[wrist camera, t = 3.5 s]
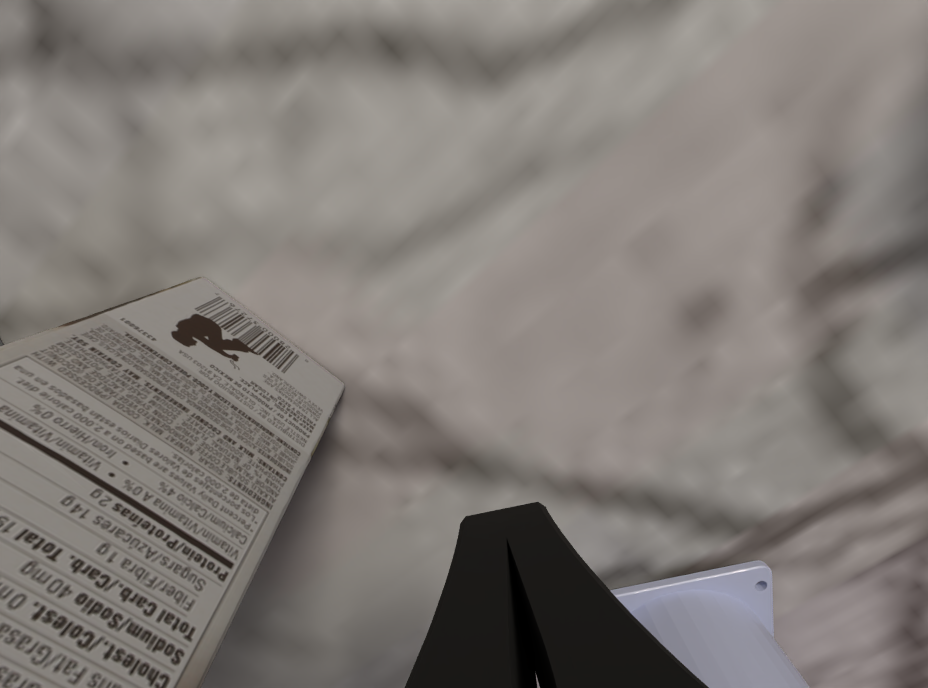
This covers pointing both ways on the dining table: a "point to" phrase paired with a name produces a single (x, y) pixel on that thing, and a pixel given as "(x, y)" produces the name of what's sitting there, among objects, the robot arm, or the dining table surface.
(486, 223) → the dining table surface
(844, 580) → the dining table surface
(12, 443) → the coffee box
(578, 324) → the dining table surface
